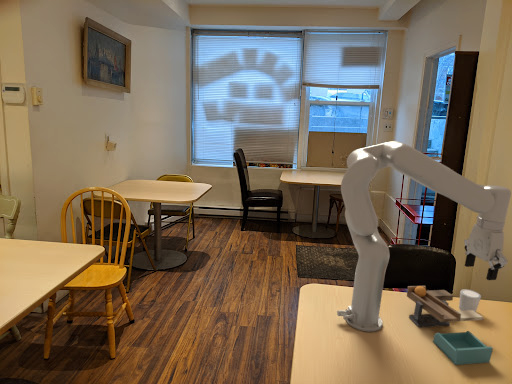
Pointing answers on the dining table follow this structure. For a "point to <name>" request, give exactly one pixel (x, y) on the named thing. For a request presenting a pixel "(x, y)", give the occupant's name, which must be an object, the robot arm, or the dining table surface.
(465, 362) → the teal tray
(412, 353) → the dining table surface
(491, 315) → the dining table surface
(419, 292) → the orange ball
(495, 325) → the dining table surface
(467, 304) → the white cup
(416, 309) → the lever stand
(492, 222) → the robot arm
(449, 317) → the walnut lever
